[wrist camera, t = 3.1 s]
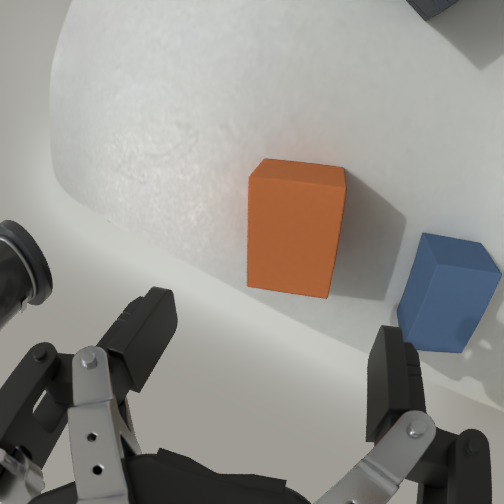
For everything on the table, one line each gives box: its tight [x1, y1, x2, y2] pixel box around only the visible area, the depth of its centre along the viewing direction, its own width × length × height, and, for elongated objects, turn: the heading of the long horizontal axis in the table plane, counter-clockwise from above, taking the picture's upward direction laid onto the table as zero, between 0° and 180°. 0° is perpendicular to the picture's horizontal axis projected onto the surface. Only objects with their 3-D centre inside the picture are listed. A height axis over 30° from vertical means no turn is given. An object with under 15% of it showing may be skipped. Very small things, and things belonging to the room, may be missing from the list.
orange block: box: [247, 159, 347, 299], centre depth 19 cm, size 5×7×4 cm
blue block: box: [397, 233, 502, 353], centre depth 19 cm, size 5×7×4 cm
